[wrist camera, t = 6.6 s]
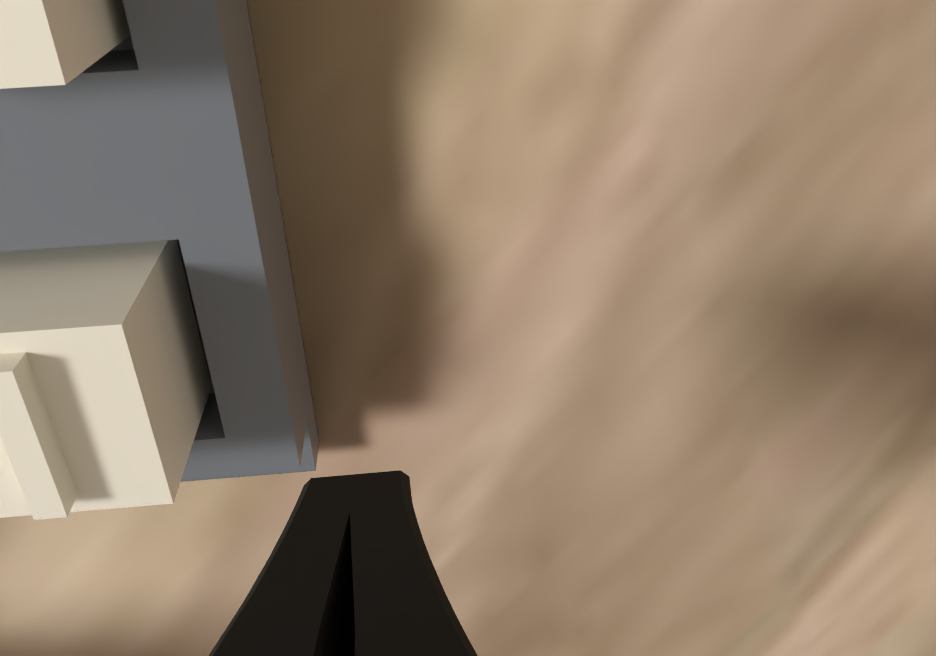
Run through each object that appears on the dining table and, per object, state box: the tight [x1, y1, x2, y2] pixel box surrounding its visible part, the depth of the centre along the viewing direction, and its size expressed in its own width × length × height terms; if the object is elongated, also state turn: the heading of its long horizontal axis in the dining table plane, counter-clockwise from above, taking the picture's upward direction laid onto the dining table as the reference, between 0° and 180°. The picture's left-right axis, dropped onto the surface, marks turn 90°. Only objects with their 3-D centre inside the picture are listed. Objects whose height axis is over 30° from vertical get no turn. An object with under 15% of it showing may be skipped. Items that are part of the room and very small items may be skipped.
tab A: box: [0, 240, 212, 520], centre depth 17 cm, size 4×4×5 cm
